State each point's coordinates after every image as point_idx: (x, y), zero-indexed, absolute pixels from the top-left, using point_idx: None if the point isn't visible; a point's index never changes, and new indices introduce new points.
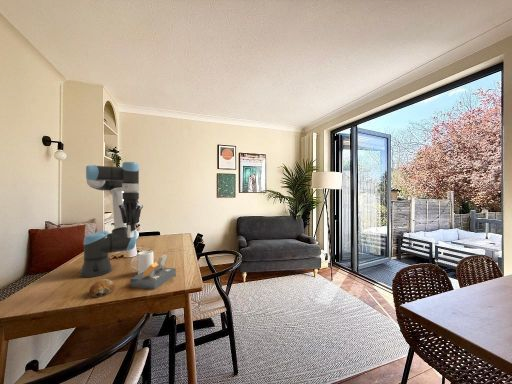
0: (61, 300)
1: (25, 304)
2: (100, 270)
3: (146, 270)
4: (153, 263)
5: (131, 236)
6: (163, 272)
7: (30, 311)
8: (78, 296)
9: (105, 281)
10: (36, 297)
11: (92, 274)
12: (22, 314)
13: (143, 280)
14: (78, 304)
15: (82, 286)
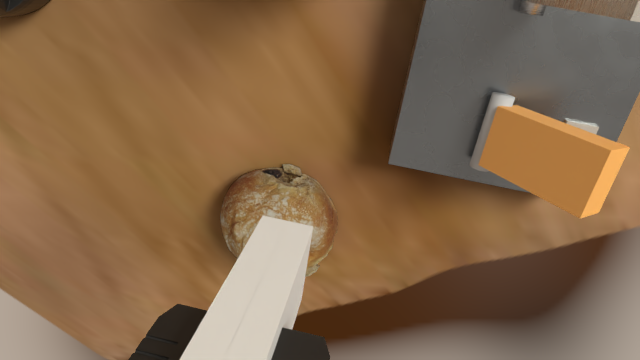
0: (171, 276)
1: (75, 297)
2: None
3: (519, 183)
4: (595, 187)
5: (301, 282)
6: (611, 33)
7: None
8: (206, 247)
9: None
10: (46, 248)
11: (29, 7)
12: None
13: (495, 183)
14: None
15: (120, 144)
